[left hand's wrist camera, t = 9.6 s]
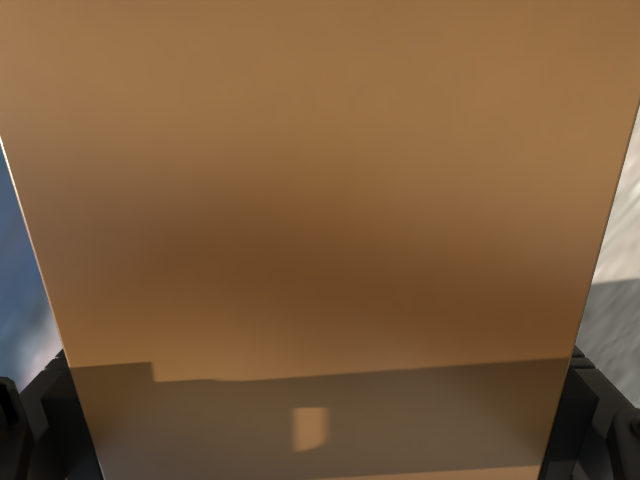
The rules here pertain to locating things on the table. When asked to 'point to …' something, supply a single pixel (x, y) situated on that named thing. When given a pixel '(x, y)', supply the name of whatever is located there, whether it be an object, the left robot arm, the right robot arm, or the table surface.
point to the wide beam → (318, 223)
